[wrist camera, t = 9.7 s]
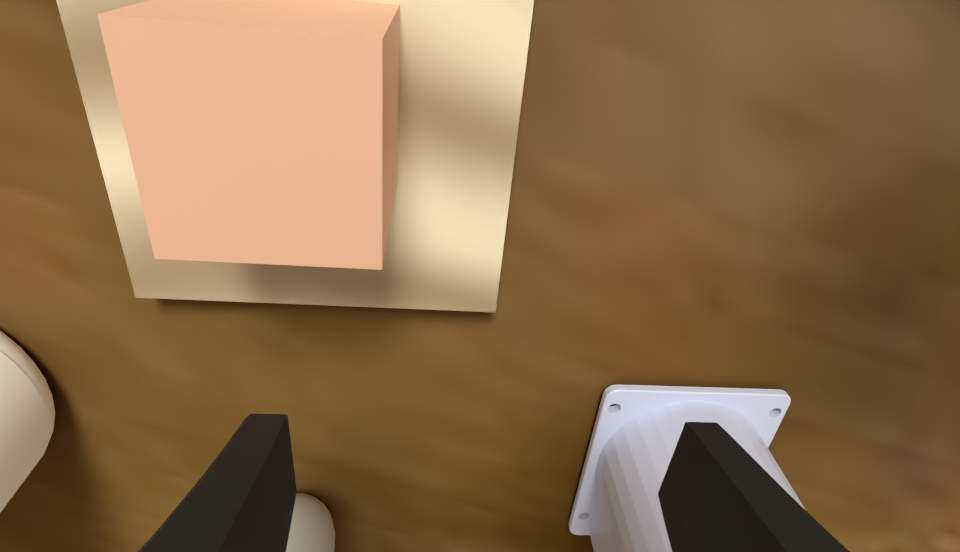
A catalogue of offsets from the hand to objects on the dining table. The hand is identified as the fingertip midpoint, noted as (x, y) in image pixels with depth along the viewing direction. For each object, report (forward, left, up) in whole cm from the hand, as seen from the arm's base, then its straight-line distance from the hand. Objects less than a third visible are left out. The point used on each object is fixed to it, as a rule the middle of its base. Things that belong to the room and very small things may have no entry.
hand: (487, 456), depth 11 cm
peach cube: (+4, +5, -9) cm, 11 cm away
